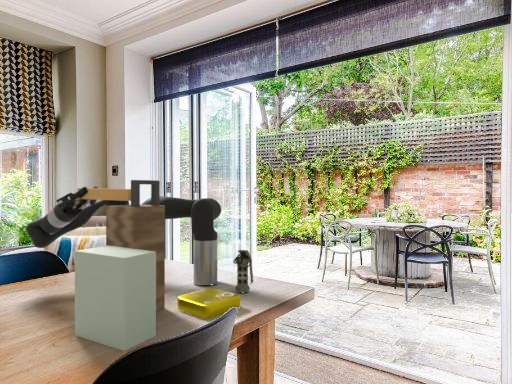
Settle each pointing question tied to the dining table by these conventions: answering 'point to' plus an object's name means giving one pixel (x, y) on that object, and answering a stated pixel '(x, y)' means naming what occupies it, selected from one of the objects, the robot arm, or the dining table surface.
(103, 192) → the bar
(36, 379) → the dining table surface
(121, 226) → the walnut post
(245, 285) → the olive stun grenade
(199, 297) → the element tile
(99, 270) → the sage green upright block
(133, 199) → the dark gray square arch
